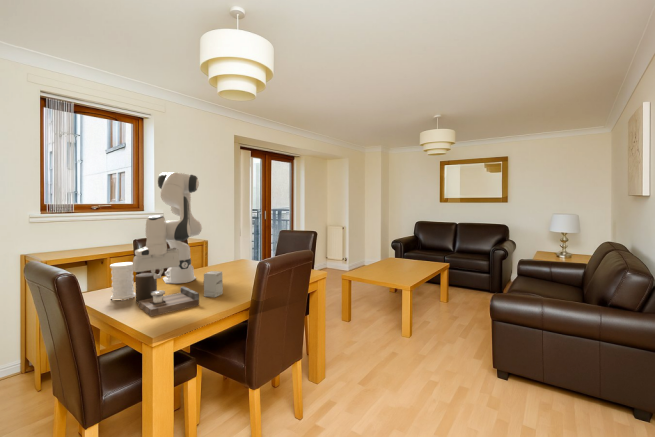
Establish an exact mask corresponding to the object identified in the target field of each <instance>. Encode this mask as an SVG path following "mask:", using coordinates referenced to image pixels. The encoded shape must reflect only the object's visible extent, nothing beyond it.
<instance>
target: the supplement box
mask: <svg viewBox="0 0 655 437" xmlns="http://www.w3.org/2000/svg"><path fill="white" fill-rule="evenodd" d="M223 284H224V283H223V271H219V270H218V271H217V270H211V271H208V272H205V273H204V274H203V297H205V298H218V297H219V296H221V295H223V294H224V293H223V290H224V289H223Z"/></svg>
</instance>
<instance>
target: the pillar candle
mask: <svg viewBox="0 0 655 437" xmlns="http://www.w3.org/2000/svg"><path fill="white" fill-rule="evenodd" d="M154 273H155V274H157V273H156V272H154ZM134 277H135V293H136V297H135V302H136V303H137V304H139V301H141V300H146V299H151V298H153V296H152V295H151V292H153V291H158V284H157V283H158V279H154V275H153V274H152V273H151V272H147V271H144V273H139V274H138V273H137V274H136V275H135V276H134Z"/></svg>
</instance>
